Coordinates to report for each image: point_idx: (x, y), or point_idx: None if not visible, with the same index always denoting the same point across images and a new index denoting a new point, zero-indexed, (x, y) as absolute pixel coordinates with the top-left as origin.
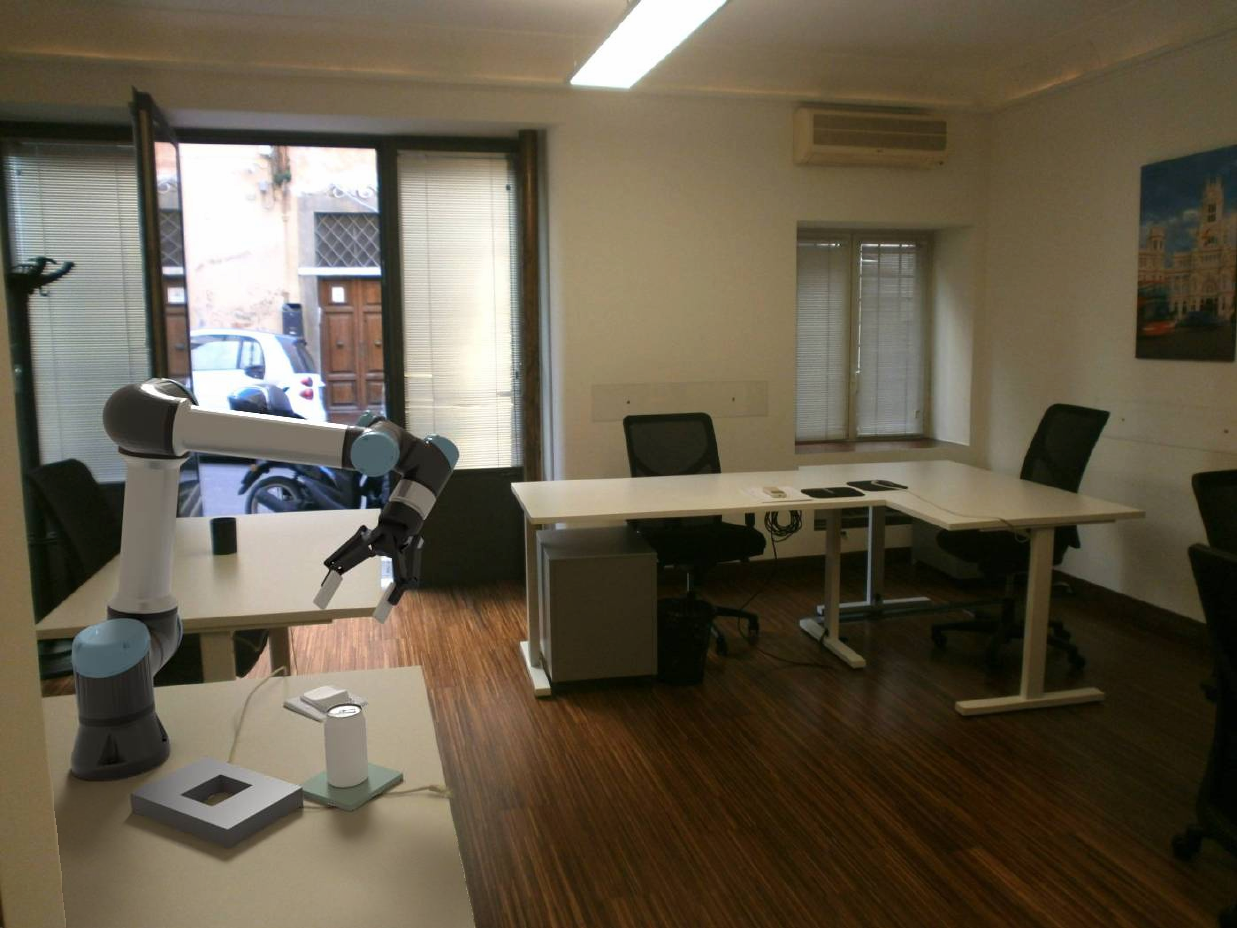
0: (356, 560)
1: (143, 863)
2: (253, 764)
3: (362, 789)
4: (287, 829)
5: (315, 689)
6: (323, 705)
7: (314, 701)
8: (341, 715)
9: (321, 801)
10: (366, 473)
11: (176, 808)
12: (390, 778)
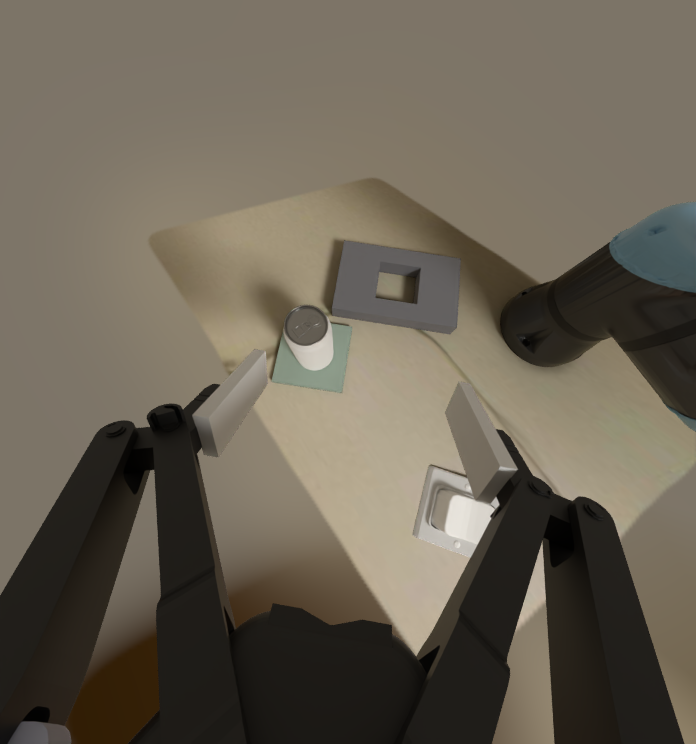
0: (470, 567)
1: (386, 223)
2: (424, 359)
3: None
4: (320, 283)
5: None
6: (449, 491)
7: (466, 496)
8: (303, 316)
9: None
10: None
11: (405, 251)
12: (277, 367)
